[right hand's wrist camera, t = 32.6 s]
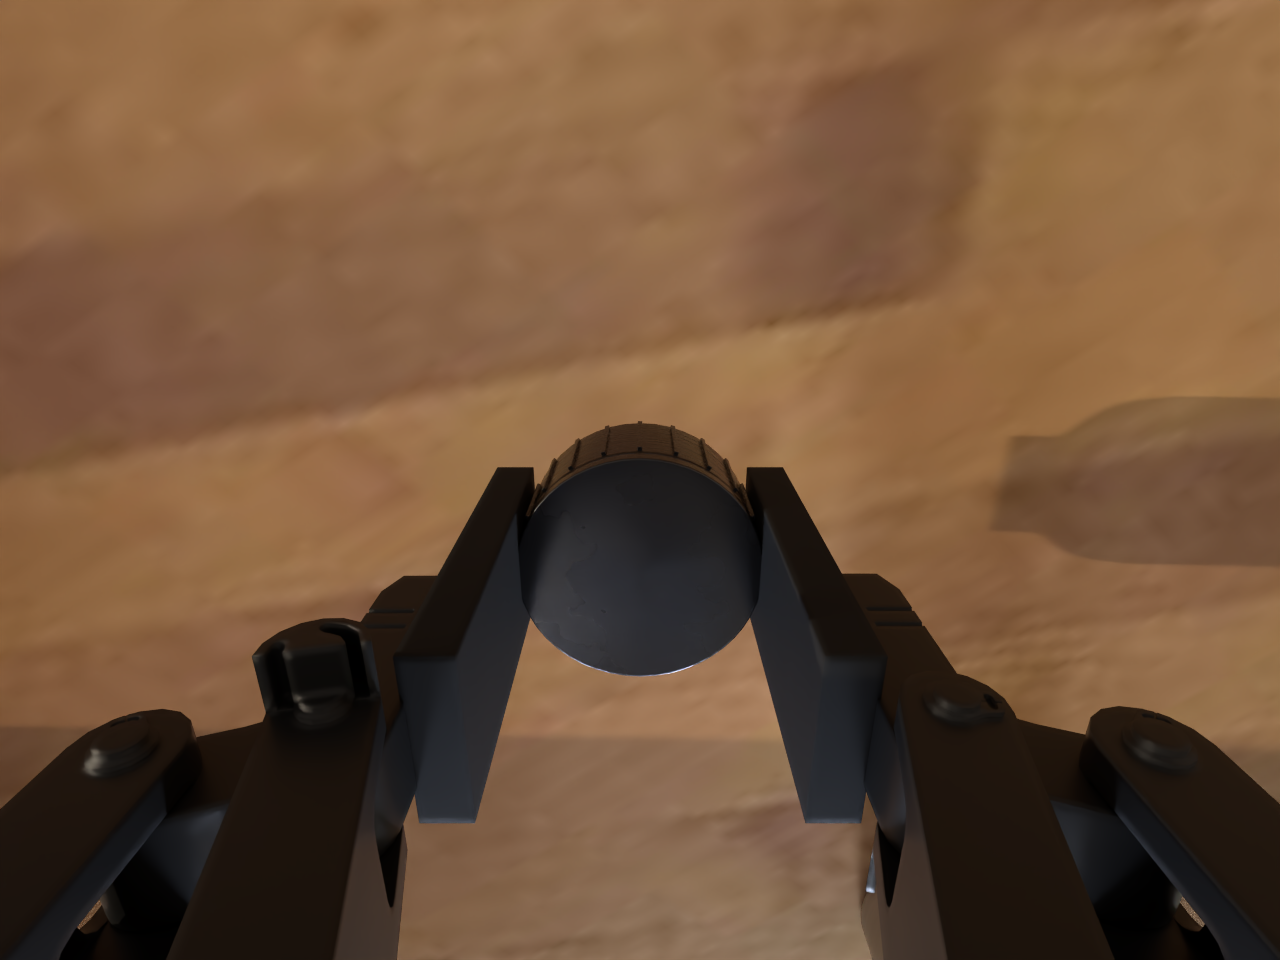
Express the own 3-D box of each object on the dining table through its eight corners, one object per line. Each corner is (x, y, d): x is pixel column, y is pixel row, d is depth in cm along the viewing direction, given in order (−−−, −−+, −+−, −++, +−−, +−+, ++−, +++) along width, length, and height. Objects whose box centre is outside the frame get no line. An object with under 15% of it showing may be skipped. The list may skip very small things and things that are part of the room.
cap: (755, 418, 14) (775, 454, 12) (743, 618, 16) (758, 679, 14) (524, 419, 14) (503, 455, 12) (537, 618, 16) (522, 679, 14)
